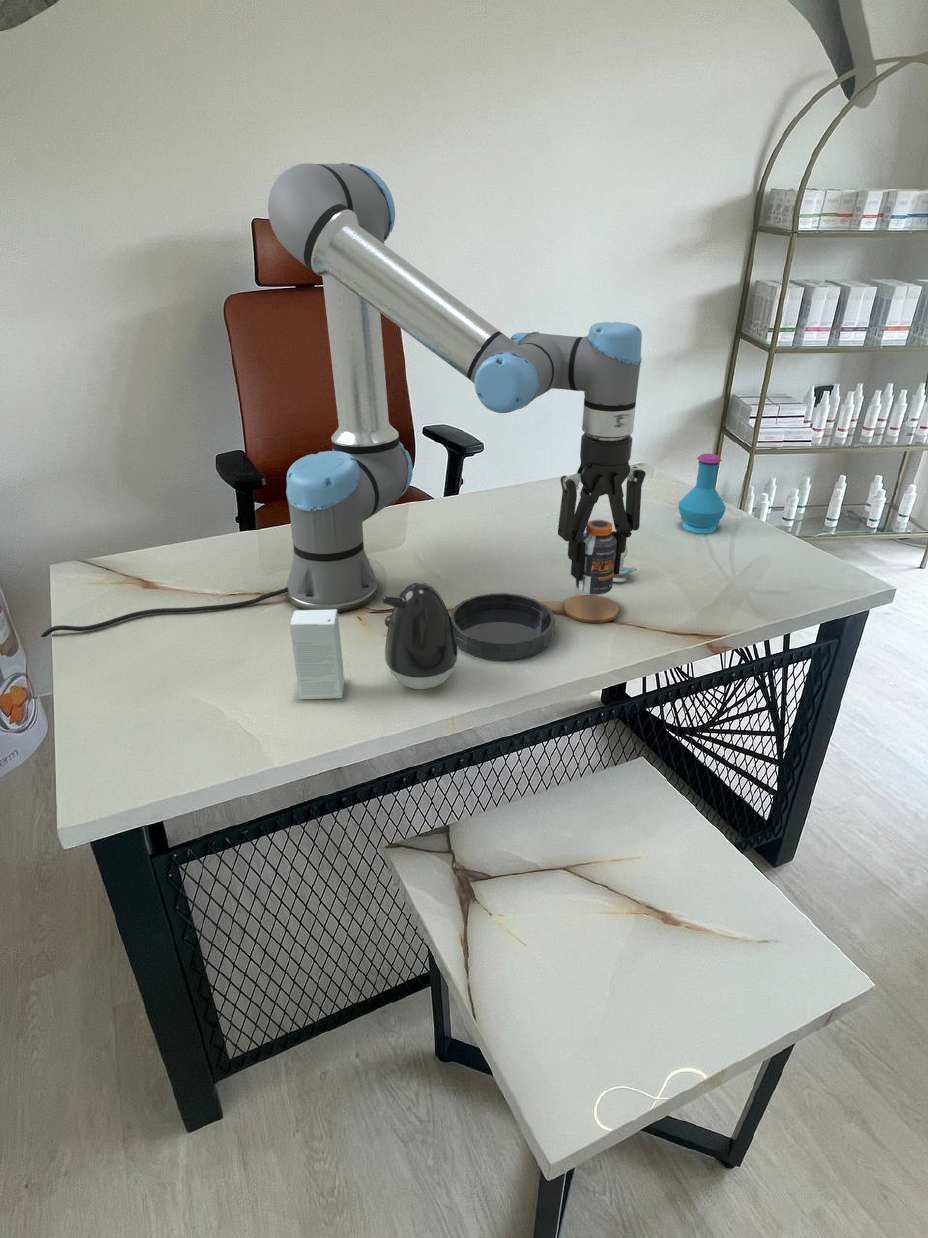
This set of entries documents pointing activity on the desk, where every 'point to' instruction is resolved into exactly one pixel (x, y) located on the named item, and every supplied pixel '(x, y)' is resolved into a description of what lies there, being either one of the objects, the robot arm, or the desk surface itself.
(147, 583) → the desk surface
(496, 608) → the pan
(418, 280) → the robot arm
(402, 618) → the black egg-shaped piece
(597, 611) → the coaster
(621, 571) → the pacifier
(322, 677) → the cosmetic box
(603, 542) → the pill bottle
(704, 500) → the perfume bottle
